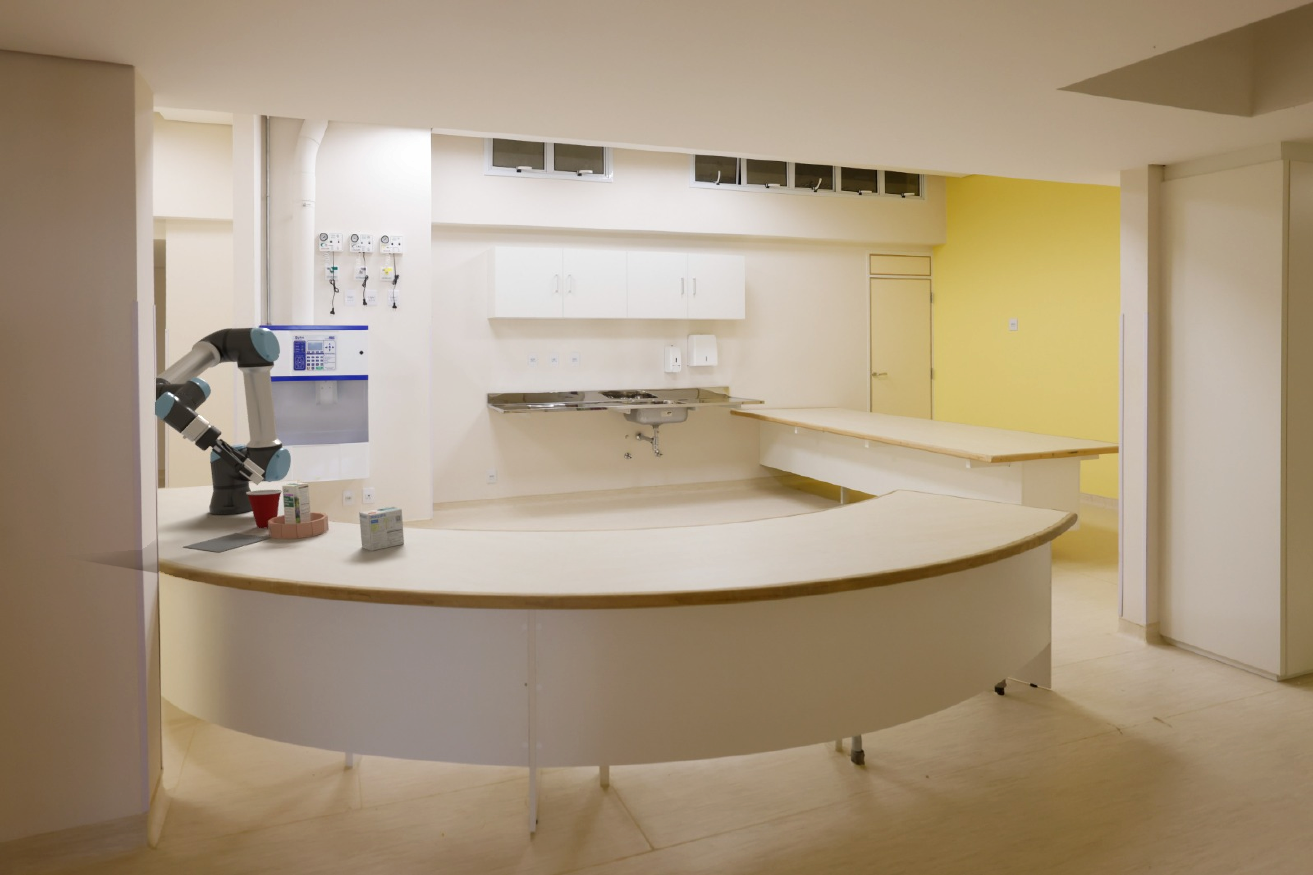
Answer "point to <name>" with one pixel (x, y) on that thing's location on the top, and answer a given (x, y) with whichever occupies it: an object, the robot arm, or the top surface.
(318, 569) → the top surface
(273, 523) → the ceramic bowl
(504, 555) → the top surface
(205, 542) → the rubber mat
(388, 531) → the light bulb box
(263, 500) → the plastic cup
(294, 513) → the syrup box
